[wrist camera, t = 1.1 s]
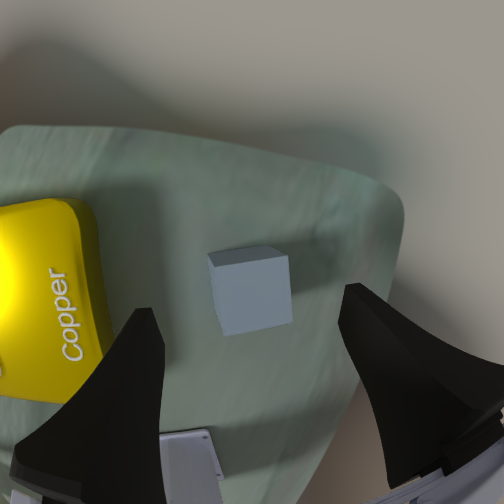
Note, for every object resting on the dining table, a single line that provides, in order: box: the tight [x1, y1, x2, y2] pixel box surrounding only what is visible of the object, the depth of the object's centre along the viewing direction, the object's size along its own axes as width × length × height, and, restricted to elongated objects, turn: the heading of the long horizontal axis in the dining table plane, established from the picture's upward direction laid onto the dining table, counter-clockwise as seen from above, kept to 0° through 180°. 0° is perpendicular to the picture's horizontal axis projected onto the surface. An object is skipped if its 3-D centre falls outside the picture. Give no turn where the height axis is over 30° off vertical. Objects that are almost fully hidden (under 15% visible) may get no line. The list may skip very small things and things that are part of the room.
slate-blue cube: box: [207, 245, 293, 336], centre depth 20 cm, size 4×4×4 cm
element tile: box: [0, 198, 115, 404], centre depth 16 cm, size 15×15×5 cm
